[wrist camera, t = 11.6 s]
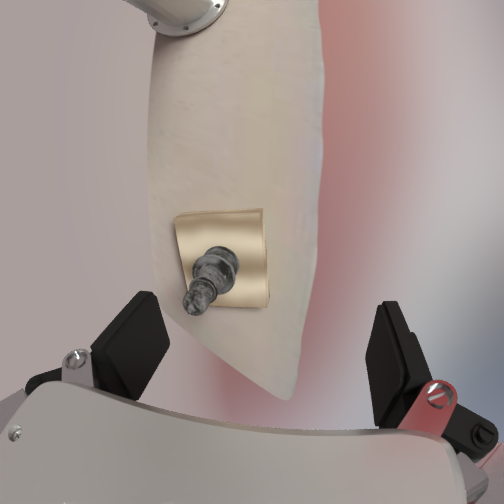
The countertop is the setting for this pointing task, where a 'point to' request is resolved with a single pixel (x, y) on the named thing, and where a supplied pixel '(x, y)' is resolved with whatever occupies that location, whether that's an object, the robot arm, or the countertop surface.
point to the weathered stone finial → (210, 279)
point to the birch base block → (237, 240)
